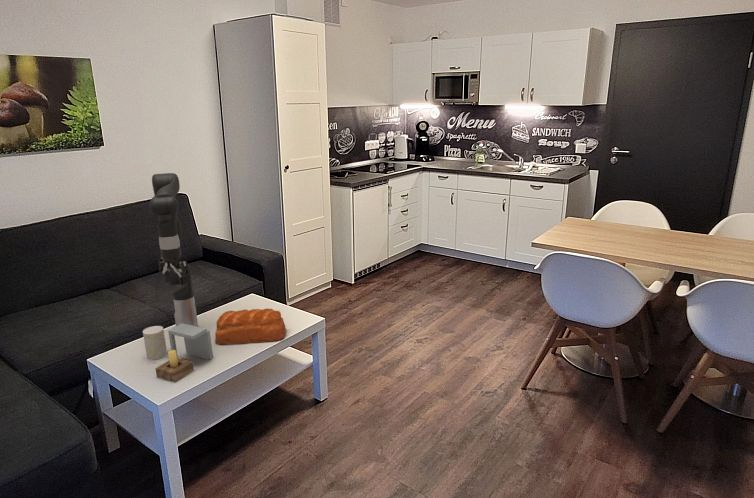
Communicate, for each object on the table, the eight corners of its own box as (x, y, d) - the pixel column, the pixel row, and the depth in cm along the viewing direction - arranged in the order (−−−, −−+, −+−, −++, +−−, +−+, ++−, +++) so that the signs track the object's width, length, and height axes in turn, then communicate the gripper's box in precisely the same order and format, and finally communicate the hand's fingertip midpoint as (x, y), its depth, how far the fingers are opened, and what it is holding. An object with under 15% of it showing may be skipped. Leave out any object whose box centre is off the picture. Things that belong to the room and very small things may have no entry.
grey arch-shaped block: (172, 361, 213) (168, 330, 209) (188, 352, 221) (184, 321, 217) (197, 368, 207) (193, 336, 203) (213, 358, 215) (209, 327, 211)
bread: (220, 331, 241) (217, 306, 237) (286, 327, 244) (284, 302, 240) (213, 346, 226) (210, 319, 222) (284, 341, 229) (282, 315, 225)
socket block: (156, 377, 201) (155, 368, 200) (176, 365, 210) (174, 356, 209) (175, 382, 197) (173, 373, 196) (194, 370, 206) (192, 361, 204)
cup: (147, 361, 214) (143, 335, 210) (146, 353, 221) (142, 328, 217) (168, 356, 217) (164, 331, 214) (166, 349, 224) (162, 324, 221)
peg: (169, 374, 203) (166, 352, 200) (175, 371, 205) (172, 349, 202) (175, 376, 201) (171, 353, 199) (181, 372, 204) (177, 350, 201)
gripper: (149, 246, 202) (155, 283, 207) (175, 250, 196) (181, 289, 201) (164, 241, 209) (170, 277, 214) (190, 245, 203) (195, 282, 208)
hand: (175, 283), depth 208 cm, fingers open, 8 cm apart
